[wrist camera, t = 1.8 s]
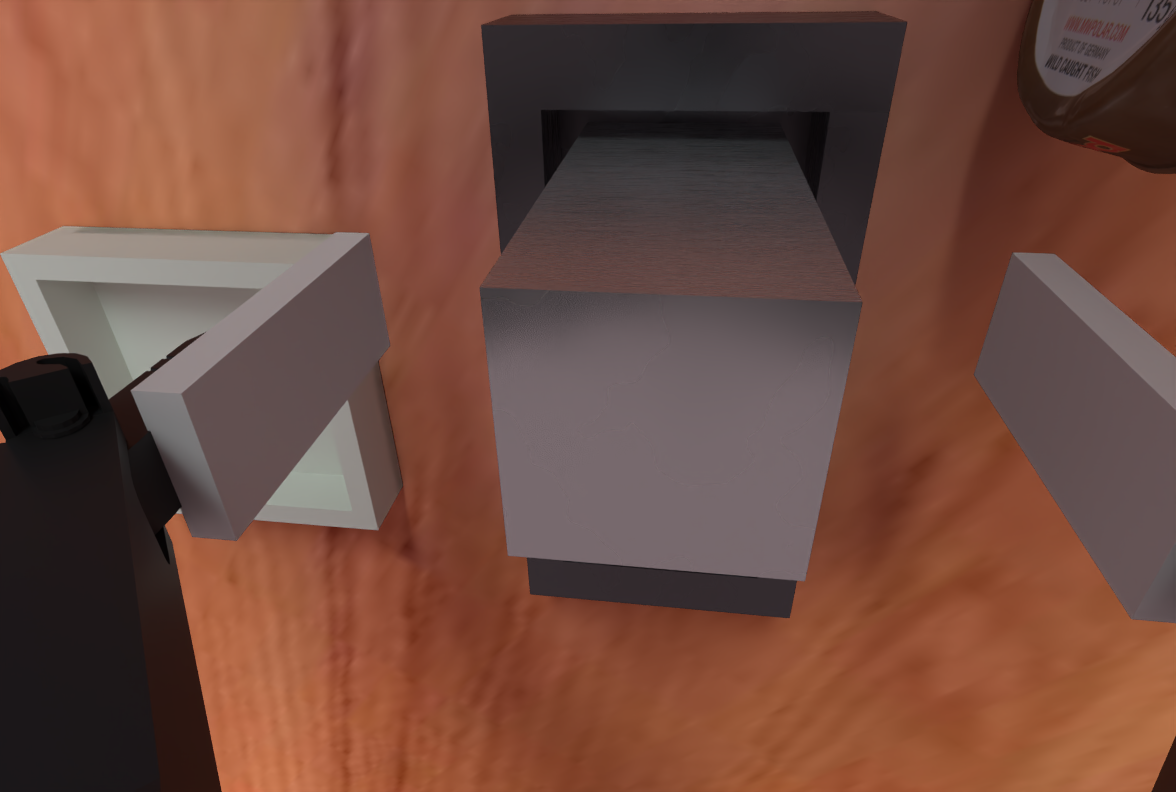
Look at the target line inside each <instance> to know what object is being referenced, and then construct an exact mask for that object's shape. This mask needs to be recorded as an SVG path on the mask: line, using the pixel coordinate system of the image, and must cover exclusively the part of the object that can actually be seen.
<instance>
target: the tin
mask: <svg viewBox="0 0 1176 792" xmlns="http://www.w3.org/2000/svg"><path fill="white" fill-rule="evenodd" d="M1017 84H1018V92H1019V95H1020V99H1021V101H1022V103H1023V105H1024V107H1025V109H1026V111H1027V112H1028V114H1029V116H1030V117H1031V119H1032V121H1033V122H1034V123H1035V124H1036V126H1037V127H1038V128H1039V129H1040V130H1042V131H1043V132H1044V133H1046V134H1047V135H1049V136H1051V137H1054V138H1057V139H1060V140H1062V141H1065V142H1068V143H1071V144H1074V145H1078V146H1082V147H1085V148H1089V149H1093V150H1097V151H1100V152H1104V153H1108V154H1112V155H1115V156H1119V157H1122V158H1123V159H1125V160H1126V161H1127V162H1129V163H1130V164H1131V165H1133V166H1135V167H1137V168H1139V169H1141V170H1144V171H1147V172H1151V173H1158V174H1176V0H1033V1H1032V4H1031V7H1030V11H1029V14H1028V17H1027V20H1026V24H1025V28H1024V32H1023V37H1022V41H1021V46H1020V51H1019V60H1018V70H1017Z"/></svg>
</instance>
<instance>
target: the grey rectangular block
mask: <svg viewBox="0 0 1176 792" xmlns="http://www.w3.org/2000/svg"><path fill="white" fill-rule="evenodd" d="M480 296H481V306H482V315H483V325H484V334H485V344H486V353H487V362H488V372H489V381H490V391H491V400H492V410H493V419H494V429H495V438H496V448H497V457H498V466H499V476H500V485H501V495H502V504H503V514H504V523H505V533H506V542H507V552H508V556H518V557H529V558H541V559H553V560H564V561H576V562H587V563H599V564H611V565H622V566H634V567H645V568H657V569H669V570H680V571H692V572H704V573H715V574H727V575H738V576H750V577H762V578H773V579H785V580H796V581H805V579H806V574H807V569H808V564H809V559H810V555H811V550H812V545H813V540H814V535H815V530H816V525H817V521H818V516H819V511H820V506H821V501H822V496H823V491H824V487H825V482H826V477H827V472H828V467H829V462H830V457H831V453H832V448H833V443H834V438H835V433H836V428H837V423H838V419H839V414H840V409H841V404H842V399H843V394H844V390H845V385H846V380H847V375H848V370H849V365H850V360H851V356H852V351H853V346H854V341H855V336H856V331H857V326H858V322H859V317H860V312H861V307H862V300H861V298H860V296H859V294H858V292H857V289H856V287H855V285H854V283H853V281H852V278H851V276H850V274H849V272H848V270H847V268H846V265H845V263H844V261H843V259H842V257H841V255H840V252H839V250H838V248H837V246H836V244H835V241H834V239H833V237H832V235H831V233H830V231H829V228H828V226H827V224H826V222H825V220H824V218H823V215H822V213H821V211H820V209H819V207H818V204H817V202H816V200H815V198H814V196H813V194H812V191H811V189H810V187H809V185H808V183H807V181H806V178H805V176H804V174H803V172H802V170H801V167H800V165H799V163H798V161H797V159H796V157H795V154H794V152H793V150H792V148H791V146H790V144H789V141H788V139H787V137H786V135H785V133H784V130H783V128H782V126H781V124H743V123H638V122H588V123H587V124H586V126H585V127H584V129H583V130H582V132H581V133H580V135H579V136H578V138H577V139H576V141H575V142H574V144H573V145H572V147H571V149H570V150H569V152H568V153H567V155H566V156H565V158H564V159H563V161H562V162H561V164H560V165H559V167H558V168H557V170H556V171H555V173H554V174H553V176H552V178H551V179H550V181H549V182H548V184H547V185H546V187H545V188H544V190H543V191H542V193H541V194H540V196H539V197H538V199H537V200H536V202H535V203H534V205H533V207H532V208H531V210H530V211H529V213H528V214H527V216H526V217H525V219H524V220H523V222H522V223H521V225H520V226H519V228H518V229H517V231H516V232H515V234H514V236H513V237H512V239H511V240H510V242H509V243H508V245H507V246H506V248H505V249H504V251H503V252H502V254H501V255H500V257H499V258H498V260H497V261H496V263H495V265H494V266H493V268H492V269H491V271H490V272H489V274H488V275H487V277H486V278H485V280H484V281H483V283H482V284H481V286H480Z"/></svg>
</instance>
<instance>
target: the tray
mask: <svg viewBox="0 0 1176 792" xmlns="http://www.w3.org/2000/svg"><path fill="white" fill-rule="evenodd" d="M331 235H333V234H305V233H272V232H240V231H207V230H174V229H141V228H108V227H75V226H62V227H60V228H58V229H55V230H53V231H51V232H49V233H46V234H44V235H42V236H39V237H37V238H35V239H32V240H30V241H28V242H25V243H23V244H21V245H19V246H16V247H14V248H12V249H9V250H7V251H5V252H2V253H0V255H1V257H2V259H3V261H4V263H5V265H6V267H7V269H8V271H9V273H10V275H11V277H12V280H13V282H14V284H15V286H16V288H17V290H18V292H19V294H20V296H21V298H22V300H23V302H24V305H25V307H26V309H27V311H28V313H29V315H30V317H31V319H32V321H33V323H34V325H35V327H36V330H37V332H38V334H39V336H40V338H41V340H42V342H43V344H44V346H45V348H46V350H47V352H48V355H50V354H56V353H77V354H81V355H85V356H88V358H89V359H90V360H91V362H92V363H93V366H94V368H95V370H96V372H97V375H98V377H99V379H100V381H101V384H102V386H103V388H104V390H105V393H106V395H107V397H108V399H110V398H111V397H113V396H114V395H115V394H116V393H118V392H119V391H120V390H122V389H123V388H124V387H126V386H127V385H128V384H130V383H131V382H132V381H134V380H135V379H136V378H138V377H139V376H140V375H142V374H143V373H144V372H145V371H150V370H151V367H152V366H153V365H155V364H156V363H157V362H159V361H160V360H161V359H166V356H167V355H168V354H169V353H171V352H172V351H173V350H174V349H176V348H177V347H178V346H180V345H181V344H182V343H184V342H185V341H187V340H189V339H191V338H194V337H196V336H198V335H200V334H202V333H205V332H207V331H208V330H210V329H211V328H212V327H214V326H215V325H216V324H217V323H219V322H220V321H221V320H223V319H224V318H225V317H227V316H228V315H229V314H230V313H232V312H233V311H234V310H236V309H237V308H238V307H239V306H241V305H242V304H243V303H245V302H246V301H247V300H249V299H250V298H251V297H252V296H254V295H255V294H256V293H258V292H259V291H260V290H262V289H263V288H264V287H265V286H267V285H268V284H269V283H271V282H272V281H273V280H274V279H276V278H277V277H278V276H280V275H281V274H282V273H284V272H285V271H286V270H287V269H289V268H290V267H291V266H293V265H294V264H295V263H296V262H298V261H299V260H300V259H302V258H303V257H304V256H306V255H307V254H308V253H309V252H311V251H312V250H313V249H315V248H316V247H317V246H319V245H320V244H321V243H322V242H324V241H325V240H326V239H328V238H329V237H330V236H331ZM402 487H403V483H402V478H401V473H400V468H399V463H398V458H397V453H396V448H395V443H394V438H393V433H392V428H391V423H390V418H389V413H388V408H387V403H386V398H385V393H384V388H383V383H382V378H381V373H380V368H379V363H378V362H377V363H376V364H375V366H374V367H373V368H372V369H371V371H370V372H369V373H368V374H367V376H366V377H365V378H364V380H363V381H362V382H361V383H360V385H359V386H358V387H357V388H356V390H355V391H354V392H353V394H352V395H351V396H350V397H349V399H348V400H347V401H346V402H345V404H344V405H343V406H342V408H341V409H340V410H339V411H338V413H337V414H336V415H335V416H334V418H333V419H332V420H331V422H330V423H329V424H328V425H327V427H326V428H325V429H324V430H323V432H322V433H321V434H320V436H319V437H318V438H317V439H316V441H315V442H314V443H313V444H312V446H311V447H310V448H309V450H308V451H307V452H306V453H305V455H304V456H303V457H302V458H301V460H300V461H299V462H298V464H297V465H296V466H295V467H294V469H293V470H292V471H291V472H290V474H289V475H288V476H287V478H286V479H285V480H284V481H283V483H282V484H281V485H280V486H279V488H278V489H277V490H276V492H275V493H274V494H273V495H272V497H271V498H270V499H269V500H268V502H267V503H266V504H265V506H264V507H263V508H262V509H261V511H260V512H259V513H258V514H257V516H256V517H255V518H254V520H261V521H273V522H285V523H297V524H309V525H321V526H333V527H345V528H357V529H369V530H379V528H380V526H381V524H382V523H383V521H384V519H385V517H386V515H387V514H388V512H389V510H390V508H391V506H392V505H393V503H394V501H395V499H396V497H397V496H398V494H399V492H400V490H401V488H402ZM176 513H177V514H182V511H181V509H179V510H178V511H177V512H176Z"/></svg>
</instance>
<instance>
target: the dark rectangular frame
mask: <svg viewBox="0 0 1176 792" xmlns="http://www.w3.org/2000/svg"><path fill="white" fill-rule="evenodd" d="M906 25H907V22H906V21H903V20H900V19H897V18H894V17H892V16H889V15H886V14H883V13H880V12H877V11H858V12H750V13H641V14H532V15H509V16H506V17H503V18H500V19H497V20H495V21H492V22H489V23H486V24H483V25H481V29H482V41H483V53H484V64H485V76H486V87H487V99H488V111H489V122H490V134H491V145H492V157H493V169H494V180H495V192H496V203H497V215H498V227H499V238H500V250H501V254H502V252H503V251H504V249H505V248H506V246H507V245H508V243H509V242H510V240H511V239H512V237H513V236H514V234H515V232H516V231H517V229H518V228H519V226H520V225H521V223H522V222H523V220H524V219H525V217H526V216H527V214H528V213H529V211H530V210H531V208H532V207H533V205H534V203H535V202H536V200H537V199H538V197H539V196H540V194H541V193H542V191H543V190H544V188H545V187H546V185H547V184H548V182H549V181H550V179H551V178H552V176H553V174H554V173H555V171H556V170H557V168H558V167H559V165H560V164H561V162H562V161H563V159H564V158H565V156H566V155H567V153H568V152H569V150H570V149H571V147H572V145H573V144H574V142H575V141H576V139H577V138H578V136H579V135H580V133H581V132H582V130H583V129H584V127H585V126H586V124H587V123H588V122H638V123H743V124H781V126H782V128H783V130H784V133H785V135H786V137H787V139H788V141H789V144H790V146H791V148H792V150H793V152H794V154H795V157H796V159H797V161H798V163H799V165H800V167H801V170H802V172H803V174H804V176H805V178H806V181H807V183H808V185H809V187H810V189H811V191H812V194H813V196H814V198H815V200H816V202H817V204H818V207H819V209H820V211H821V213H822V215H823V218H824V220H825V222H826V224H827V226H828V228H829V231H830V233H831V235H832V237H833V239H834V241H835V244H836V246H837V248H838V250H839V252H840V255H841V257H842V259H843V261H844V263H845V265H846V268H847V270H848V272H849V274H850V276H851V278H852V281H853V283H854V285H855V284H856V279H857V274H858V269H859V264H860V259H861V253H862V248H863V243H864V238H865V233H866V228H867V223H868V218H869V213H870V208H871V203H872V198H873V193H874V188H875V183H876V177H877V172H878V167H879V162H880V157H881V152H882V147H883V142H884V137H885V132H886V127H887V122H888V117H889V112H890V107H891V101H892V96H893V91H894V86H895V81H896V76H897V71H898V66H899V61H900V56H901V51H902V46H903V41H904V36H905V31H906ZM527 563H528V575H529V586H530V594H533V595H544V596H555V597H566V598H577V599H587V600H598V601H609V602H620V603H631V604H641V605H652V606H663V607H674V608H685V609H695V610H706V611H717V612H728V613H739V614H749V615H760V616H771V617H782V618H790V613H791V608H792V603H793V598H794V593H795V588H796V583H797V581H796V580H785V579H773V578H762V577H750V576H738V575H727V574H715V573H704V572H692V571H680V570H669V569H657V568H645V567H634V566H622V565H611V564H599V563H587V562H576V561H564V560H553V559H541V558H529V557H527Z"/></svg>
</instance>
